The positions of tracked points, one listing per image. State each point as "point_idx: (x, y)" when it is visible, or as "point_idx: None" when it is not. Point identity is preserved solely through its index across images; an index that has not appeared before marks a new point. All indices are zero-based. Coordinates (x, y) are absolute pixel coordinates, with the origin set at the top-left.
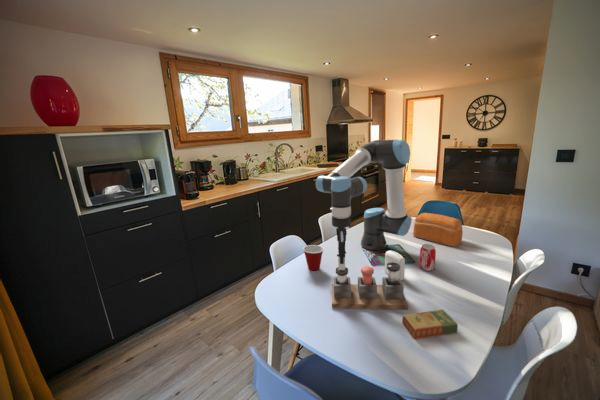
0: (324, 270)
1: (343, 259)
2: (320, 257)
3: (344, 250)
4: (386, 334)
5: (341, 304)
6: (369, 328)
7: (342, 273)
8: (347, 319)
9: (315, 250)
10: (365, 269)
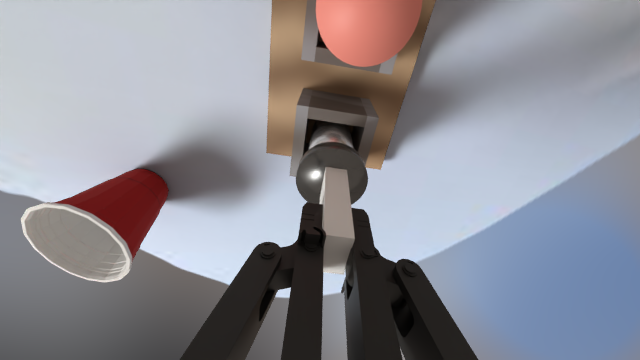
0: (149, 152)
1: (372, 237)
2: (116, 200)
3: (465, 348)
4: (579, 3)
5: (389, 138)
6: (517, 62)
7: (365, 182)
8: (446, 126)
9: (59, 217)
10: (368, 28)
